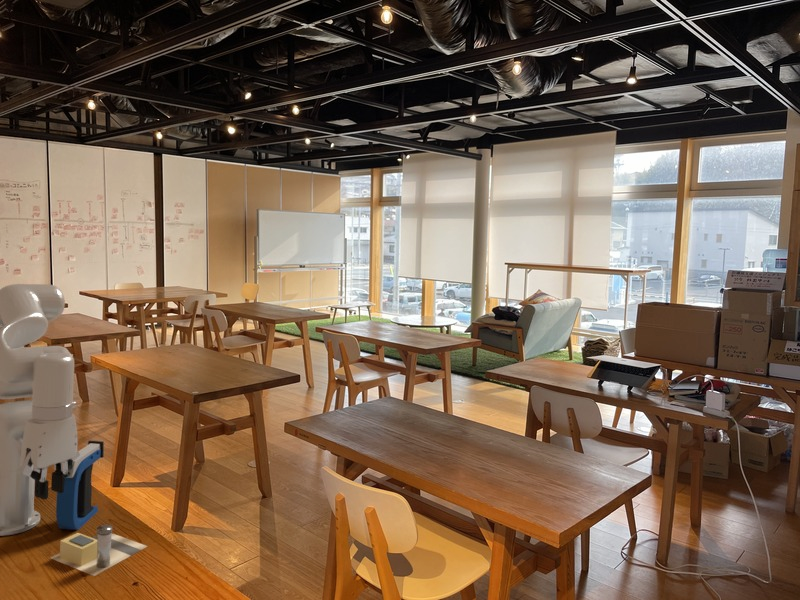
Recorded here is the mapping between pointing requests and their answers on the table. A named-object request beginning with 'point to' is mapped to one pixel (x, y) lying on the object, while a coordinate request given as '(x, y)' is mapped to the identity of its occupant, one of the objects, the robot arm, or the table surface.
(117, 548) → the white square mat
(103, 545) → the steel pin
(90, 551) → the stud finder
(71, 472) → the handheld scanner
